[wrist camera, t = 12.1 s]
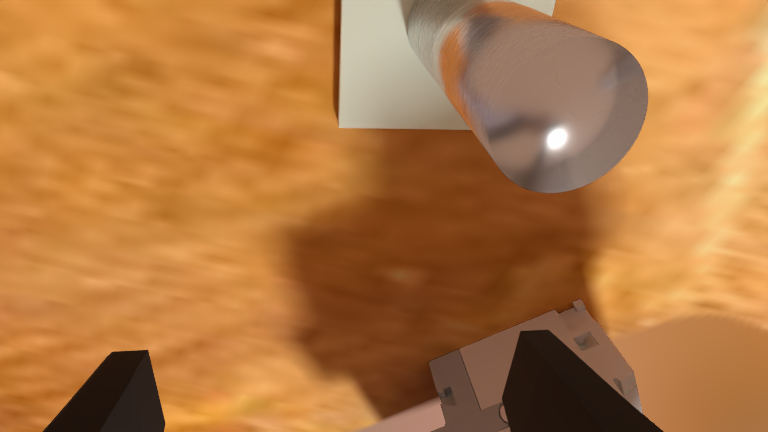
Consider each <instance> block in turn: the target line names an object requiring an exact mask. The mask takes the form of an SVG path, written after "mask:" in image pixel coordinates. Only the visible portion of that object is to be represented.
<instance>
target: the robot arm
mask: <svg viewBox="0 0 768 432" xmlns="http://www.w3.org/2000/svg"><path fill="white" fill-rule="evenodd" d="M502 402H503V406H504V409H505V413H506V417H507V420H508V424H509V427H510V431H511V432H663V431H662V430H661V429H660V428H659V427H657V426H656V425H655V424H654V423H653V422H651V421H650V420H649V419H648V418H647V417H645V416H644V415H643V414H642V413H641V412H640V411H639V410H637V409H636V408H635V407H634V406H633V405H632V404H631V403H629V402H628V401H627V400H626V399H625V398H624V397H623V396H621V395H620V394H619V393H618V392H617V391H616V390H615V389H614V388H612V387H611V386H610V385H609V384H608V383H607V382H606V381H605V380H604V379H602V378H601V377H600V376H599V375H598V374H597V373H596V372H595V371H594V370H593V369H592V368H590V367H589V366H588V365H587V364H586V363H585V362H584V361H583V360H582V359H581V358H579V357H578V356H577V355H576V354H575V353H574V352H573V351H572V350H571V349H570V348H569V347H567V346H566V345H565V344H564V343H563V342H562V341H561V340H560V339H559V338H557V337H556V336H555V335H554V334H553V333H552V332H551V331H549V330H529V331H520V334H519V338H518V341H517V345H516V349H515V352H514V356H513V359H512V363H511V366H510V370H509V374H508V377H507V381H506V384H505V388H504V392H503V395H502ZM164 428H165V420H164V416H163V412H162V407H161V403H160V399H159V395H158V390H157V386H156V382H155V378H154V373H153V369H152V365H151V361H150V356H149V352H148V350H140V351H120V352H112V353H111V354H110V355H108V356H107V357H106V359H105V360H104V361H103V362H102V363H101V364H100V366H99V367H98V368H97V369H96V370H95V372H94V373H93V374H92V375H91V376H90V377H89V379H88V380H87V381H86V382H85V383H84V385H83V386H82V387H81V388H80V389H79V390H78V392H77V393H76V394H75V395H74V396H73V397H72V399H71V400H70V401H69V402H68V403H67V404H66V406H65V407H64V408H63V409H62V410H61V411H60V413H59V414H58V415H57V416H56V417H55V418H54V419H53V421H52V422H51V423H50V424H49V425H48V426H47V427H46V428H45V430H44V431H43V432H164Z"/></svg>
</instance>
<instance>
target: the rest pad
mask: <svg viewBox="0 0 768 432" xmlns="http://www.w3.org/2000/svg"><path fill="white" fill-rule="evenodd" d="M513 1H515V2H518V3H520V4H523V5H525V6H527V7H530V8H532V9H535V10H537V11H540V12H542V13H544V14H547V15H549V16H552V14H553V10H554V5H555V1H556V0H513ZM414 2H415V0H341V13H340V56H339V99H338V125H339V128H376V129H442V130H471V129H470V128H469V126H468V125H467V124H466V122H465V121H464V120H463V118H462V117H461V116H460V114H459V113H458V111H457V110H456V109H455V107H454V106H453V105H452V103H451V102H450V101H449V99H448V98H447V97H446V95H445V94H444V92H443V91H442V90H441V88H440V87H439V86H438V84H437V83H436V82H435V80H434V79H433V78H432V76H431V75H430V73H429V72H428V71H427V69H426V68H425V67H424V65H423V64H422V63H421V61H420V60H419V58H418V57H417V56H416V54H415V53H414V51H413V50H412V48H411V46H410V43H409V40H408V34H407V22H408V16H409V13H410V10H411V8H412V6H413V4H414Z"/></svg>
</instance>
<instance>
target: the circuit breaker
mask: <svg viewBox="0 0 768 432" xmlns="http://www.w3.org/2000/svg"><path fill="white" fill-rule="evenodd" d="M572 303H573V306H574V307H573V308H571V309H569V310H566V311H564V312H561V313H559V314H558V313H557V311H556V310H552V311H550V312H547V313H545V314H542V315H540V316H538V317H535V318H533V319H530V320H528V321H525V322H523V323H521V324H518V325H516V326H513V327H511V328H508V329H506V330H504V331H501V332H499V333H496V334H494V335H492V336H489V337H487V338H484V339H482V340H479V341H477V342H475V343H472V344H470V345H467V346H465V347H462V348H460V349H458V350H455V351H453V352H450V353H448V354H446V355H443V356H441V357H438V358H436V359H434V360H431V361H430V362H429V366H430V369H431V373H432V376H433V380H434V383H435V387H436V390H437V393H438V395H439V396H440V399H441V403H442V404H441V408H442V411H443V415H444V418H445V422H446V424H445V426H444V427H441V428H439V429H436V430H434V431H431V432H511V431H510V427H509V424H508V420H507V417H506V413H505V409H504V406H503V402H502V395H503V392H504V388H505V384H506V381H507V377H508V374H509V370H510V366H511V363H512V359H513V356H514V352H515V349H516V345H517V341H518V338H519V334H520V331H529V330H549V331H551V332H552V333H553V334H554V335H555V336H556V337H557V338H559V339H560V340H561V341H562V342H563V343H564V344H565V345H566V346H567V347H569V348H570V349H571V350H572V351H573V352H574V353H575V354H576V355H577V356H578V357H579V358H581V359H582V360H583V361H584V362H585V363H586V364H587V365H588V366H589V367H590V368H592V369H593V370H594V371H595V372H596V373H597V374H598V375H599V376H600V377H601V378H602V379H604V380H605V381H606V382H607V383H608V384H609V385H610V386H611V387H612V388H614V389H615V390H616V391H617V392H618V393H619V394H620V395H621V396H623V397H624V398H625V399H626V400H627V401H628V402H629V403H631V404H632V405H633V406H634V407H635V408H636V409H637V410H639V411H640V412H641V413H642V414H643V412H642V408H641V403H640V398H639V394H638V389H637V385H636V380H635V376H634V372H633V370H632V368H631V367H630V366H629V364H628V363H627V362H626V360H625V359H624V357H623V356H622V355H621V354H620V352H619V351H618V349H617V348H616V347H615V345H614V344H613V342H612V341H611V340H610V338H609V337H608V336H607V334H606V333H605V331H604V330H603V329H602V327H601V326H600V325H599V323H598V322H597V320H596V321H594V320H593V318H592V317H591V316H590V314H589V313H588V311H587V310H586V308H585V304H584V303H583V301H582V300H581V299H579V300H576V301H574V302H572ZM459 350H460V351H459Z"/></svg>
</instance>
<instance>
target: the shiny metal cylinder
mask: <svg viewBox="0 0 768 432" xmlns="http://www.w3.org/2000/svg"><path fill="white" fill-rule="evenodd" d="M407 34H408V40H409V43H410V46H411V48H412V50H413V51H414V53H415V54H416V56H417V57H418V58H419V60H420V61H421V63H422V64H423V65H424V67H425V68H426V69H427V71H428V72H429V73H430V75H431V76H432V78H433V79H434V80H435V82H436V83H437V84H438V86H439V87H440V88H441V90H442V91H443V92H444V94H445V95H446V97H447V98H448V99H449V101H450V102H451V103H452V105H453V106H454V107H455V109H456V110H457V111H458V113H459V114H460V116H461V117H462V118H463V120H464V121H465V122H466V124H467V125H468V126H469V128H470V129H471V130H472V132H473V133H474V135H475V136H476V137H477V139H478V140H479V141H480V143H481V144H482V145H483V147H484V148H485V149H486V151H487V152H488V154H489V155H490V156H491V158H492V159H493V160H494V162H495V163H496V164H497V166H498V167H499V169H500V170H501V171H502V172H503V173H504V175H505V176H506V177H507V178H509V179H510V180H511V181H512V182H514V183H515V184H517V185H518V186H520V187H523V188H525V189H527V190H531V191H534V192H541V193H560V192H566V191H570V190H574V189H577V188H580V187H583V186H585V185H587V184H589V183H591V182H593V181H595V180H597V179H598V178H600V177H601V176H603V175H604V174H606V173H607V172H608V171H610V170H611V169H612V168H613V167H614V166H615V165H617V163H618V162H619V161H620V160H621V159H622V158H623V157H624V156H625V155H626V153H627V152H628V151H629V150H630V148H631V147H632V145H633V144H634V142H635V140H636V139H637V137H638V135H639V133H640V131H641V128H642V125H643V123H644V120H645V116H646V111H647V104H648V88H647V82H646V78H645V75H644V72H643V70H642V68H641V66H640V64H639V63H638V61H637V60H636V59H635V57H634V56H633V55H632V54H631V53H630V52H629V51H628V50H627V49H625V48H624V47H622V46H621V45H619V44H617V43H615V42H613V41H610V40H608V39H605V38H603V37H600V36H598V35H596V34H593V33H591V32H588V31H586V30H583V29H581V28H579V27H576V26H574V25H571V24H569V23H566V22H564V21H561V20H559V19H557V18H554V17H552V16H549V15H547V14H544V13H542V12H540V11H537V10H535V9H532V8H530V7H527V6H525V5H523V4H520V3H518V2H515V1H513V0H415V2H414V4H413V6H412V8H411V10H410V13H409V16H408V22H407Z"/></svg>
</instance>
